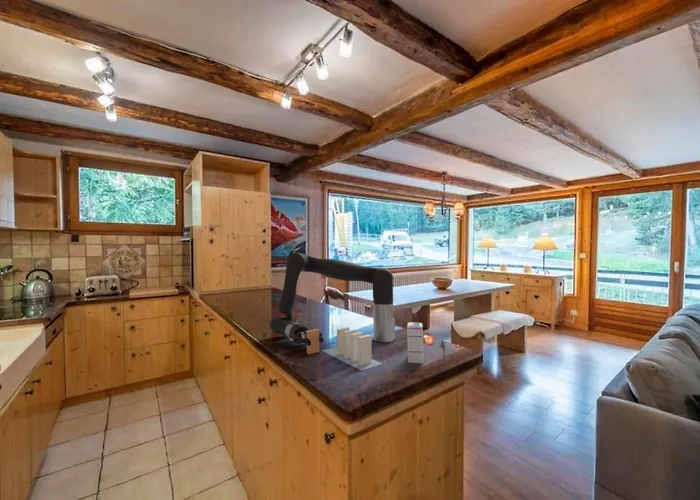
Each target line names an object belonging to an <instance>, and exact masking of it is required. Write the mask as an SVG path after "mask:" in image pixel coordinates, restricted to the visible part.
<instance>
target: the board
mask: <svg viewBox="0 0 700 500" xmlns="http://www.w3.org/2000/svg"><path fill="white" fill-rule="evenodd" d="M321 351H322V352H324V353H325V354H328V355H329V356H332V357H333V358H335V359H338V360H340V361H341V362H343V363H345V364H347V365H349V366H352V367H353V368H356V369H357V370H360V371H364V370H367V369H371V368H374V367H377V366H380V365H383V363H382V362H380V361H378V360H375V359H373V358H372V363H369V364H365V365H362V366H360V365H358V361H355V362H352V361H351V357H350V358H347V359H346V358H344V354H342V355H338V354H337V346H334V347H329V348H326V349H321Z"/></svg>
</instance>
